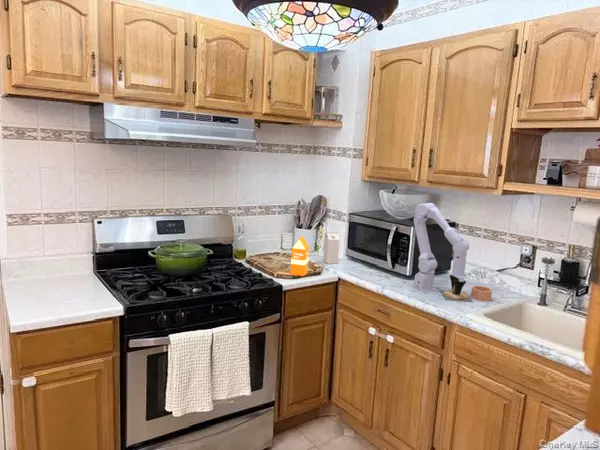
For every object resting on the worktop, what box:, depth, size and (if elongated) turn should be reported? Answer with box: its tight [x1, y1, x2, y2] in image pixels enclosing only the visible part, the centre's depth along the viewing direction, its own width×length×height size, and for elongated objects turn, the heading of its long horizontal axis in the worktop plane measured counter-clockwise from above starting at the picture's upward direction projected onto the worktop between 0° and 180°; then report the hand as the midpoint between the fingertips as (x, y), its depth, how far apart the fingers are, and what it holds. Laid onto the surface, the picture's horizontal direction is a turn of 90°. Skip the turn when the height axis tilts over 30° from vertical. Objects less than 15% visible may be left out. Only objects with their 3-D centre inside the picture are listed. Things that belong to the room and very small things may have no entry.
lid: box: [444, 285, 469, 300], centre depth 219 cm, size 11×11×5 cm
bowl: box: [470, 285, 493, 302], centre depth 218 cm, size 9×9×5 cm
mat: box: [438, 289, 474, 303], centre depth 219 cm, size 13×16×1 cm
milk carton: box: [323, 231, 341, 265], centre depth 271 cm, size 7×7×19 cm
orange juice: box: [290, 236, 310, 277], centre depth 244 cm, size 8×9×20 cm
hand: (455, 291), depth 219 cm, fingers open, 6 cm apart
